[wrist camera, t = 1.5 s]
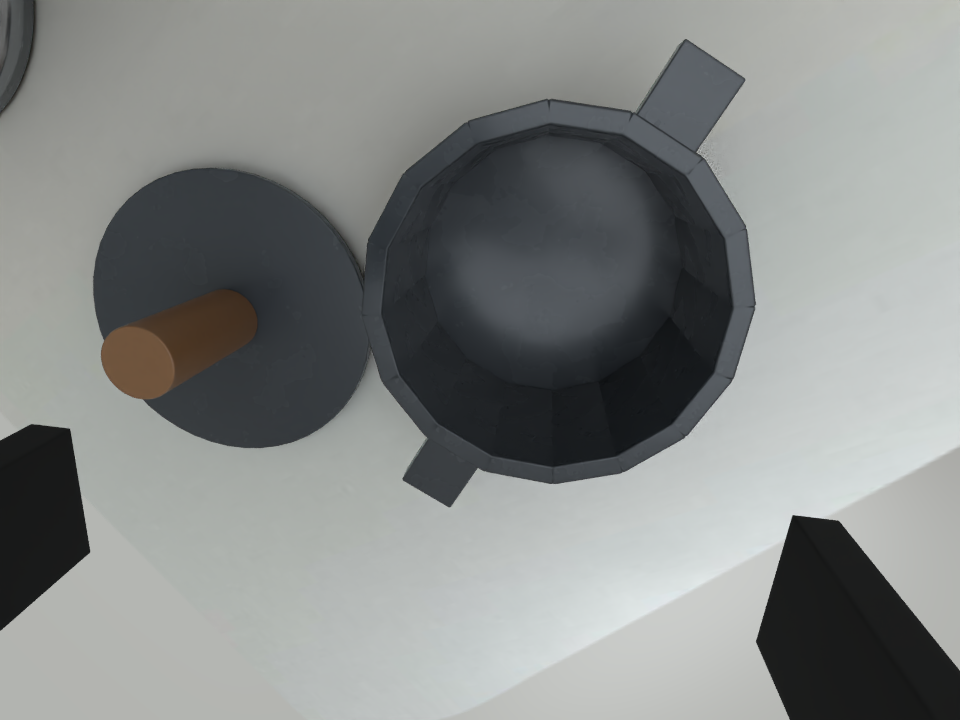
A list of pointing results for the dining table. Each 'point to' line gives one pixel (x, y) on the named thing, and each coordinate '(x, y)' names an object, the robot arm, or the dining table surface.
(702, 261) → the pot
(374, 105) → the dining table surface
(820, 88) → the dining table surface
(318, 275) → the lid
